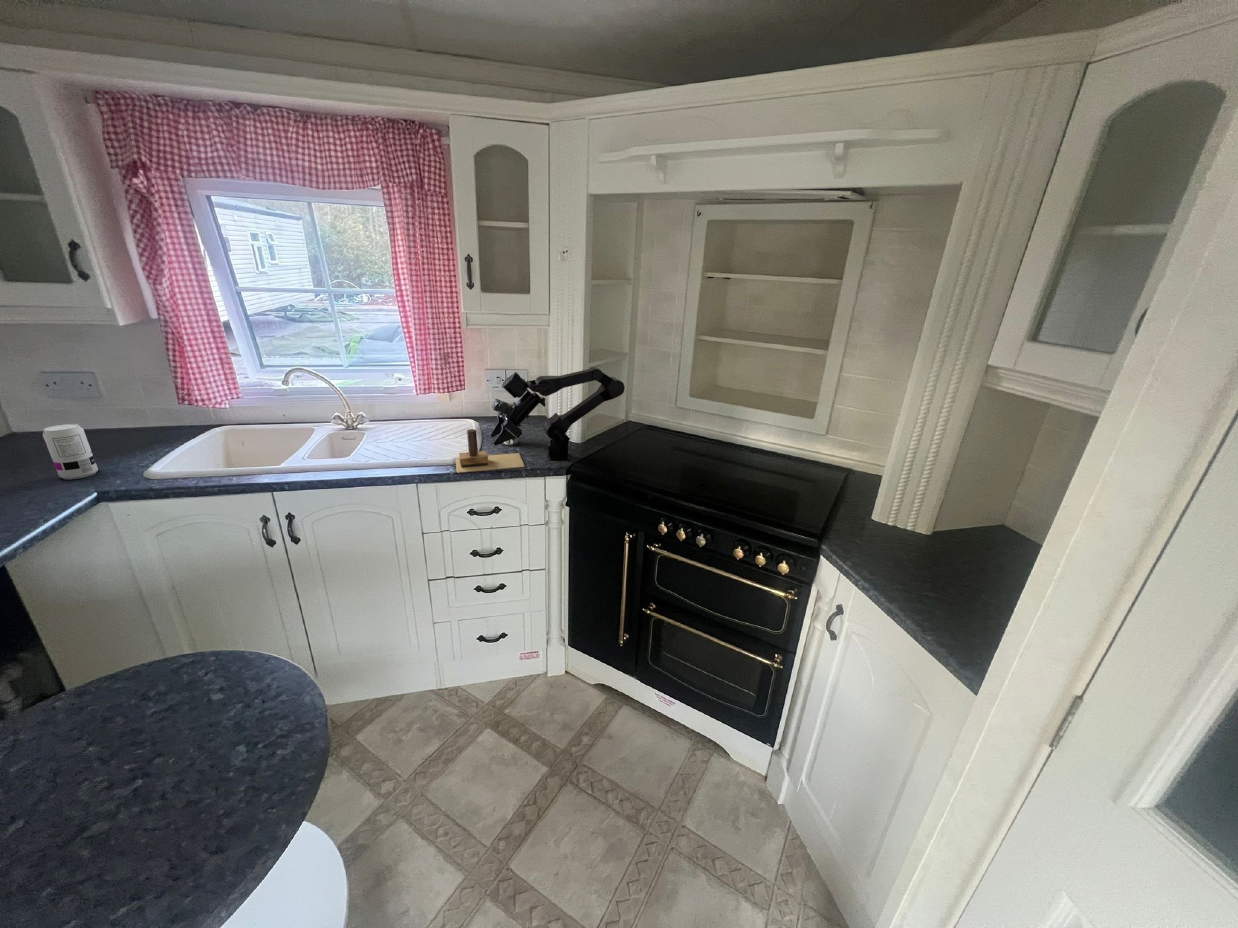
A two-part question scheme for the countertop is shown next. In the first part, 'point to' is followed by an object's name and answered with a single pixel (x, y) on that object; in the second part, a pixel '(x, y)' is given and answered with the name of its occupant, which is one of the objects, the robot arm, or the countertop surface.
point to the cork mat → (494, 463)
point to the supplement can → (70, 451)
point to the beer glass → (512, 441)
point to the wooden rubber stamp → (473, 452)
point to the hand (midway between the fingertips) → (492, 440)
